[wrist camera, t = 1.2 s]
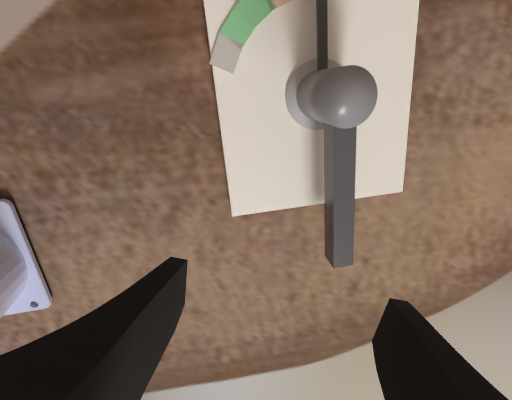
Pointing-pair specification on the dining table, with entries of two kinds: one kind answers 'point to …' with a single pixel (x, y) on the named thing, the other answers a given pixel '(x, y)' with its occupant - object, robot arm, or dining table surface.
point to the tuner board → (285, 95)
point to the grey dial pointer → (337, 136)
